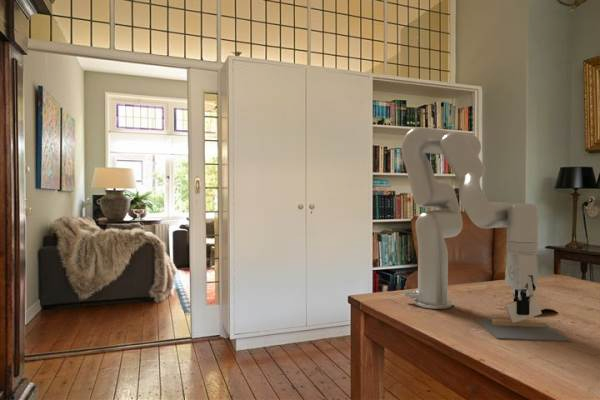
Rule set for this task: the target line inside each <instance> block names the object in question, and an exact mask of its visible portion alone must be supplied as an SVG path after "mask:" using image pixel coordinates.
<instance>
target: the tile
mask: <svg viewBox="0 0 600 400" xmlns="http://www.w3.org/2000/svg"><path fill="white" fill-rule="evenodd" d="M513 301H514V300H513ZM513 301H511V302H508V303H505V304H504V306H505V307H506V309H505V310H506V312H507V314H508V317H509V319H510V320H511V322H513V323H515V322H518V321H521V320H528V319H530V318H533V317H536V316H538V315H543V313H542V310H540V307H539V305H540V304H539V303H538V300H537V298H536V296H535V295H534V296H532V297H530V302H529V315H518V314H517V301H514V302H513Z"/></svg>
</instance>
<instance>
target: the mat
mask: <svg viewBox="0 0 600 400" xmlns="http://www.w3.org/2000/svg"><path fill="white" fill-rule="evenodd" d="M475 320H476V321H477V322H478V323H479V324H480V325H481V326H482V327H484V328H485V330H487V332H489V333H490V334H491V335H492V336H493V337H494V338H495V339H496V340H510V341H511V340H514V341H517V340H518V341H540V342H541V341H542V342H543V341H544V342H545V341H546V342H568V343H569V342H570V343H572V340H571V339H570V338H568V337H567V336H565V335H563V334H562V333H560V332H558V331H557V330H555V329H554V328H552V327H551V326H549V325H548V324H547V321H544V320H541V319H540V320H537V319H535V320H534V319H533V320H532V319H524V320H521V321H518V322H515V323H513V322H511V320H510V318H509V319H506V318H505V319H504V318H503V319H502V318H475Z"/></svg>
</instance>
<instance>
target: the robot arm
mask: <svg viewBox="0 0 600 400" xmlns="http://www.w3.org/2000/svg"><path fill="white" fill-rule="evenodd" d="M479 139H480V138H478V137H477V136H476V135H474V134H473V133H466V132H460V131H459V132H458V131H450V130H444V129H437V128H431V127H424V126H421V127H419V126H418V127H415V128H412V129H410V130H409V131H408V132H407V133H406V134H405V136H404V137H403V140H402V142H401V149H400V151H401V156H402V157H401V158H402V160H403V163H404V166H405V169H406V173H407V177H408V181H409V186H410V191H411V193H412V198H413V200H414V204H416V206H417V207H420V208H424V209H425V208H428V209H429V208H431V209H432V208H434V210H426V211H423V212H422V213H420V214H419V216H417V219H416V220H415V232H416V239H417V248H418V249H417V250H418V251H417V263H418V265H417V266H418V268H417V288H415V290H412V291H409V290H406V291H405V290H404V291H403V297H404V298H408V299H413V301H412V303H413V304H414V305H416V306H418V307H421V308H425V309H433V310H443V309H450V308H452V307H453V301H452V300H450V299H448V296H449V294H448V286H449V285H448V284H449V283H448V279H449V277H448V276H449V275H448V274H449V252H448V247H447V244H446V241H445V240H446V238H447V239H449V238H454V237H457V236H458V235H459V234H461V232H462V230H463V226H464V222H463V216H462V212H461V209H460V205H459V201H460V204H461V205H462V207H463V209H464V211H465V213H466V215H467V216H468V218H469V219H470V221H471V222H472V223H473V224H474V225H475V226H477V227H478V228H481V229H494V228H495V229H499V228H506V253H507V254H506V260H505V272H504V274H505V275H504V282H505V284H506V285H507V286H508V287H510V288H511V290H512V297H513V301H517V314H518V315H529V302H530V297H532V296H535V294H534V292H535V291H537V288H538V265H537V264H538V262H537V255H538V253H539V252H538V250H539V247H538V246H539V243H538V242H539V241H538V240H539V236H538V235H539V208H538V206H537V205H536V204H534V203H523V202H522V203H510V202H504V201H489V200H488V198H487V196H486V195H485V193H484V191H483V190H482V187H481V182H480V180H481V178H482V177H483V176H484V175H485V173H486V167H485V164H483V162H482V160H481V159H480V157H479V154H480V152H481V151H482V150H481V149H482V145H481V144H482V143H481V142H480V140H479ZM426 154H434V155H435V154H436V155H442V156H443V157H444V158H445V160H446V161H447V164H448V165H449V167H450V169H451V170H452V172H453V174H454V175H455V177H456V179H457V181H458V194H459V195H458V196H459V201H458V198H457V194H456V190H455V189H454V187H453V185H451V184H450V183H449V182H448V181H444V180H439V179H436V177H435V174H434V170H433V166H432V163H431V162H430V160H429V159H428V157H427V156H426Z"/></svg>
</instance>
